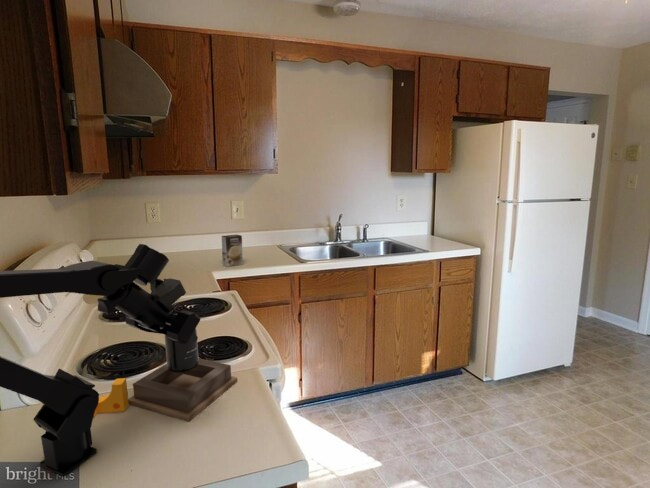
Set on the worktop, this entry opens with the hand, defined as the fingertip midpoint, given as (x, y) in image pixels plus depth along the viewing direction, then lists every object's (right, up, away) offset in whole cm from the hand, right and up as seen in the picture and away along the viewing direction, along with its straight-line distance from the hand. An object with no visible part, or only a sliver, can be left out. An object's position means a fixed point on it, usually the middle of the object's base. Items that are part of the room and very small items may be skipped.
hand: (185, 336), depth 91 cm
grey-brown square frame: (-1, -13, +1) cm, 13 cm away
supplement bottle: (0, -7, 0) cm, 7 cm away
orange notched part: (-17, -15, -6) cm, 24 cm away
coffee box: (-18, +10, +124) cm, 126 cm away
